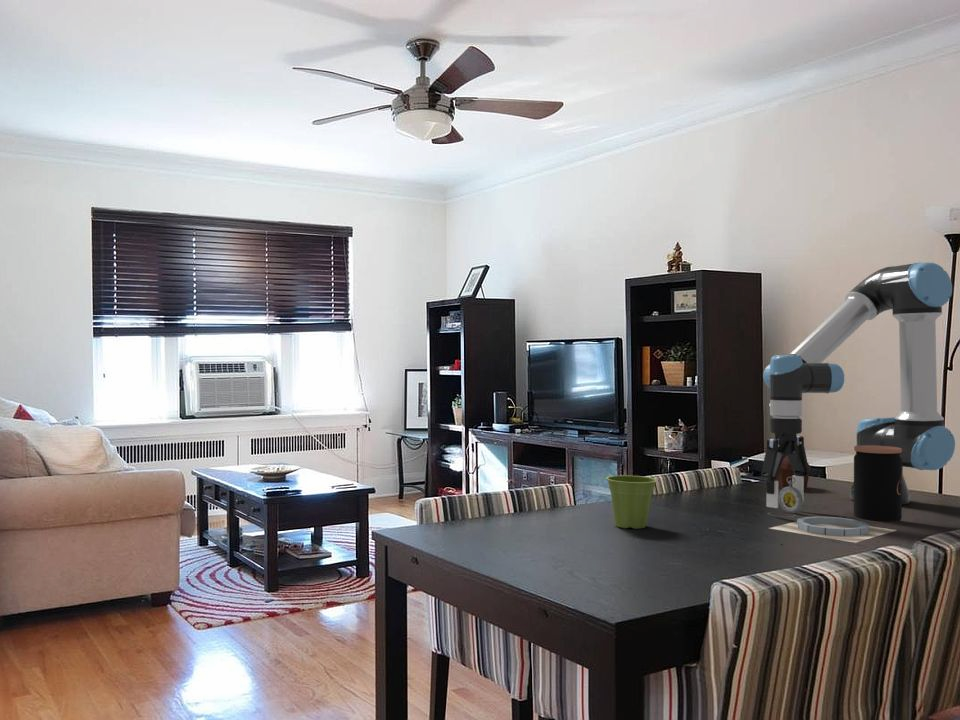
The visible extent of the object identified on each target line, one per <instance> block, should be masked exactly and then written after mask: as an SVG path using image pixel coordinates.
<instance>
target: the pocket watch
mask: <svg viewBox="0 0 960 720" xmlns="http://www.w3.org/2000/svg"><path fill="white" fill-rule="evenodd" d="M788 478H793V479H794V482H795V478H794V477H788ZM788 478H787V479H788ZM787 479H786V481H787V482H788V480H787ZM794 482H791V480H790V481H789V482H788V484H789V486H788V487H784V488H783V489H780V491H779V492H778V504H779V507H781V508H782V509H781V510H783V511H784V512H785V513H788V514H793V515H794V517H796V514H795V513H798V512H799V511H800V510H802V508H803V504H804V502H803V498H802V495H801V493H800V492H799V490H797V489H796V488H794V487H791V484H793V483H794ZM794 497H795V498H794ZM794 501H795V502H794ZM768 515H769V516H771V513H768ZM793 515H792V516H788V517H793ZM772 516H775V515H773V514H772ZM782 517H785V516H782V515H781V518H782Z"/></svg>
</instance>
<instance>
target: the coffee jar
mask: <svg viewBox="0 0 960 720" xmlns="http://www.w3.org/2000/svg"><path fill="white" fill-rule="evenodd" d="M853 450H854V452H855V455H853V482H854V500H853V516H854V518H857V519H861V520H867V521H875V522H897V521H898V522H900V521H901V520H902V518H903V515H902V513H903V504H902V459H901V457H900V453H901V452H902V449H901V448H898V447H891V446H876V445H860V446H857V445H854V447H853Z"/></svg>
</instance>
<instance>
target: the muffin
mask: <svg viewBox="0 0 960 720" xmlns="http://www.w3.org/2000/svg"><path fill="white" fill-rule="evenodd" d="M807 463H808V468H809V472H808V476H804V490H805V491H806V490H807V488H808V482H809V478H810V477H809V476H810V471H811V469H812V467H811V465H810V464H809V462H808V461H807ZM793 475H795V474H794V472H793V469H792V467H791V464H790V461H789V459H788V456H786V458H784V459H783V462H782V465H781V467H780V470H779V473H778V476H777V479H776V481H778V490H782V489H783V488H784V487H788V486H789V484H788V482H789V481H790V480H791V482H792V478H788V477H792V476H793ZM795 476H796V475H795ZM787 478H788V479H787ZM786 479H787V480H788V482H787V481H786ZM791 487H792V484H791Z"/></svg>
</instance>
